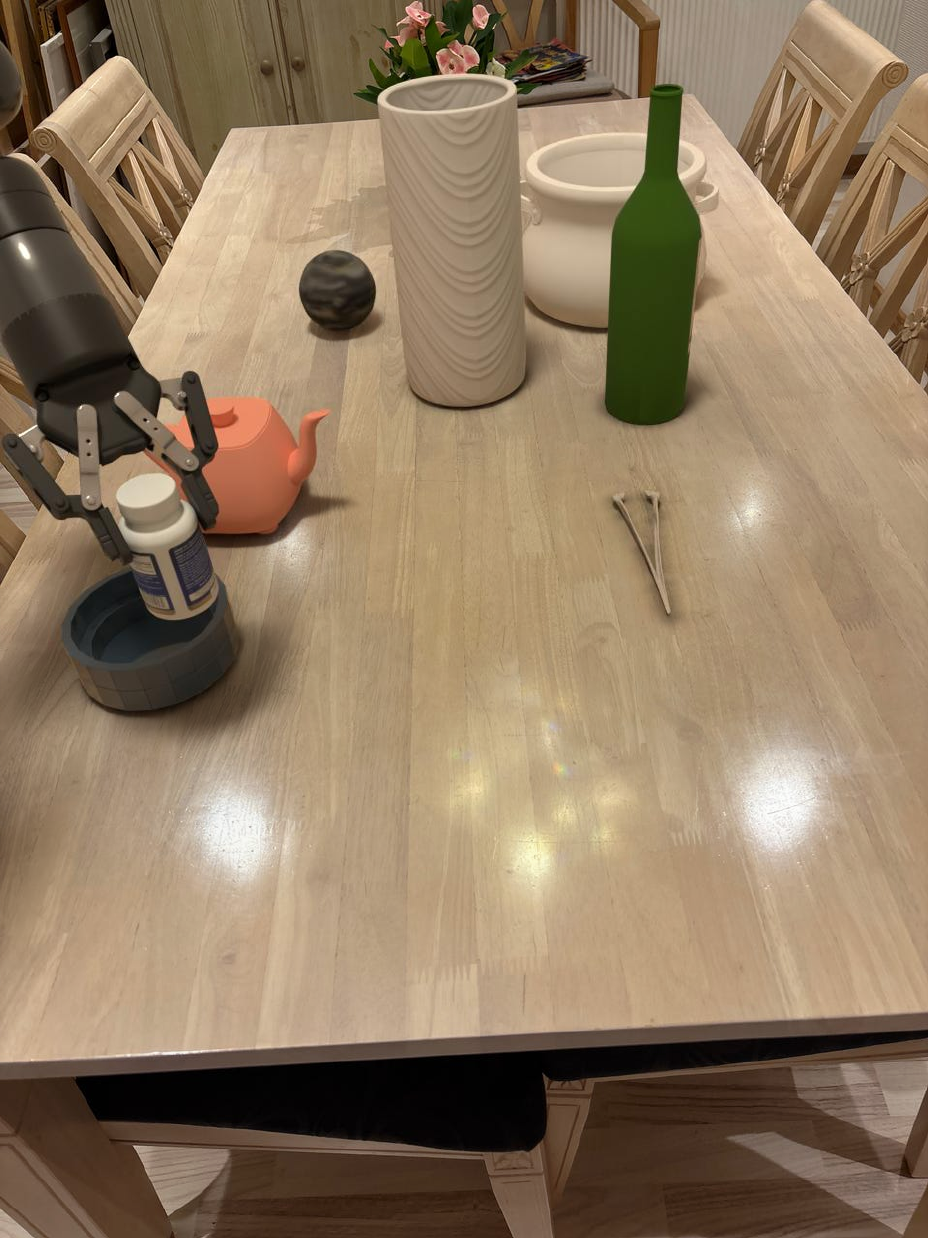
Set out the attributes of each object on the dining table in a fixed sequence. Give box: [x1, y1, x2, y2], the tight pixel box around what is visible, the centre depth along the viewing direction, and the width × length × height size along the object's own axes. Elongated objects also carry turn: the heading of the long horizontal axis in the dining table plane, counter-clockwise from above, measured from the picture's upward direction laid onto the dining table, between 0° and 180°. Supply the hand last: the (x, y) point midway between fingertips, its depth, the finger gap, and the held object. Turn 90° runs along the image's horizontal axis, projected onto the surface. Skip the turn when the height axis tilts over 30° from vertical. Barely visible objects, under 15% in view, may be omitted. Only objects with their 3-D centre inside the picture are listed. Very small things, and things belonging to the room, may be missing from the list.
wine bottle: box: [604, 83, 702, 426], centre depth 99 cm, size 9×9×32 cm
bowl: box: [60, 565, 241, 712], centre depth 82 cm, size 14×14×6 cm
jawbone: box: [611, 489, 672, 615], centre depth 90 cm, size 17×5×2 cm, turn 3°
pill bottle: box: [115, 472, 218, 620], centre depth 68 cm, size 5×5×10 cm
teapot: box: [142, 396, 331, 535], centre depth 96 cm, size 13×20×12 cm, turn 85°
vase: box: [376, 73, 527, 408], centre depth 106 cm, size 14×14×32 cm
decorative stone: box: [298, 249, 377, 332], centre depth 126 cm, size 10×10×10 cm
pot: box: [520, 131, 720, 329], centre depth 125 cm, size 26×24×18 cm
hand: (170, 543), depth 66 cm, fingers closed on pill bottle, 5 cm apart
